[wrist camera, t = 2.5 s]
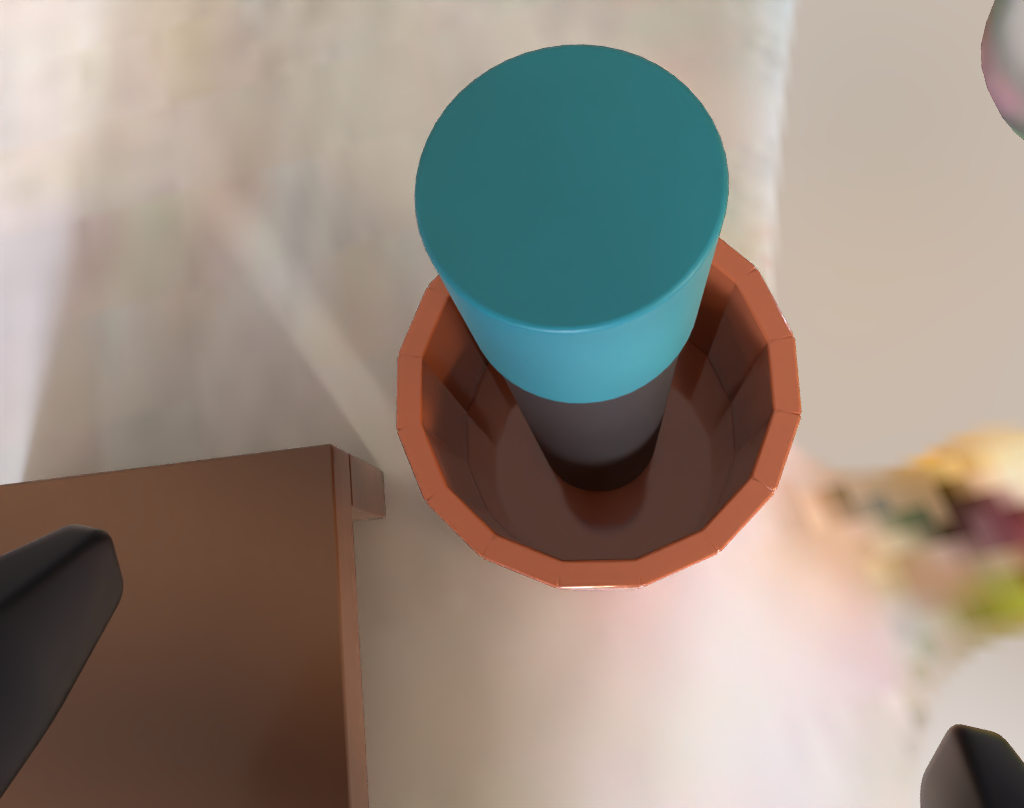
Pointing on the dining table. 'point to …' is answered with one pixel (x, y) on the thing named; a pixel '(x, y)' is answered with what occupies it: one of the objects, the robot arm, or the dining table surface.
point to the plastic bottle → (1005, 60)
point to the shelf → (212, 635)
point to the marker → (577, 242)
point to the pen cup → (639, 504)
